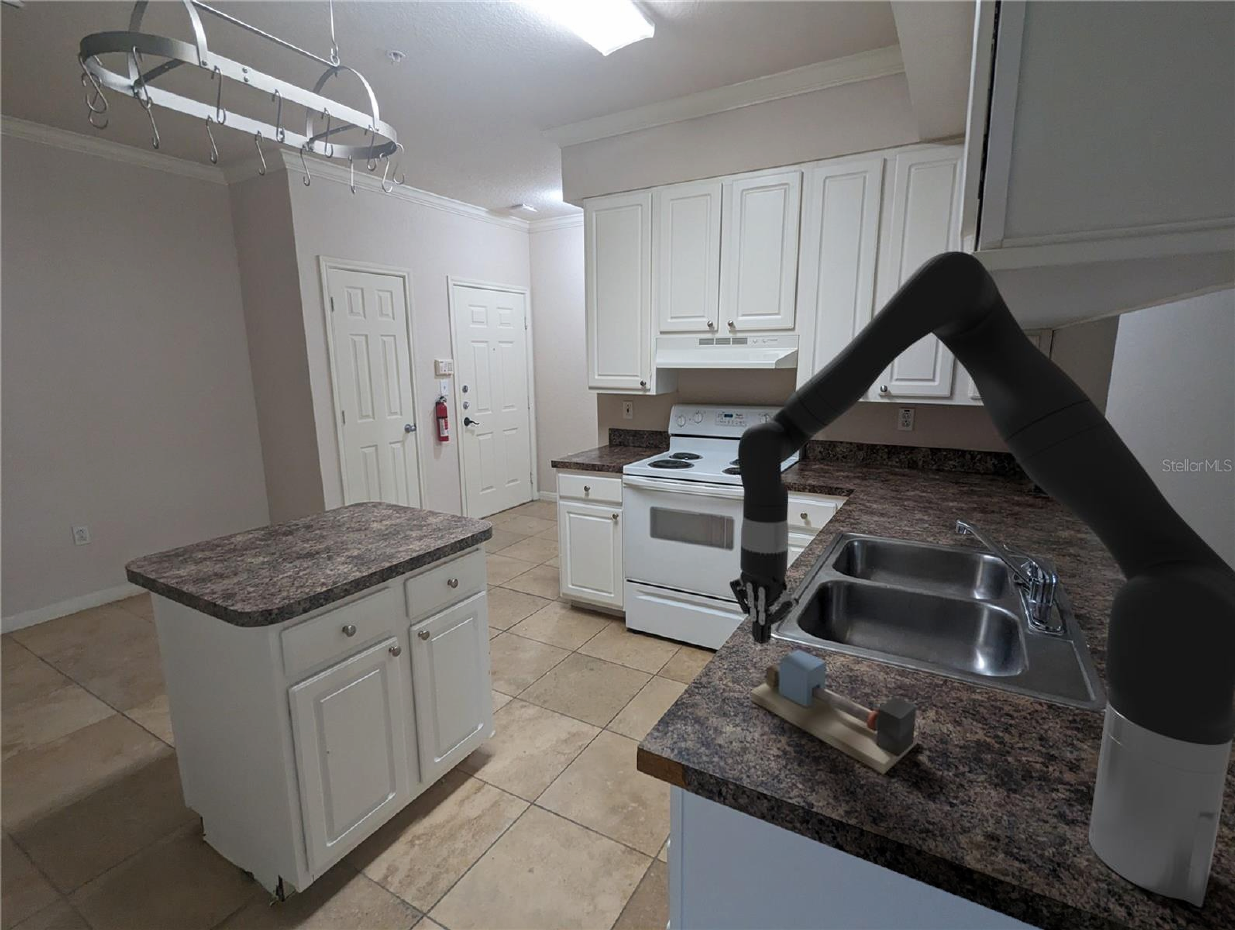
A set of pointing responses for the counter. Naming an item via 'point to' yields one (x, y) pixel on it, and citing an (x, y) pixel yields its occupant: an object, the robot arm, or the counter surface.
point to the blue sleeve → (801, 676)
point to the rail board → (846, 722)
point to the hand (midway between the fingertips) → (761, 641)
